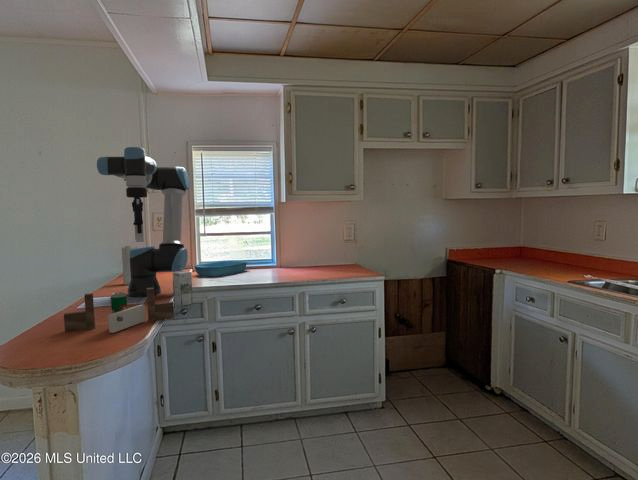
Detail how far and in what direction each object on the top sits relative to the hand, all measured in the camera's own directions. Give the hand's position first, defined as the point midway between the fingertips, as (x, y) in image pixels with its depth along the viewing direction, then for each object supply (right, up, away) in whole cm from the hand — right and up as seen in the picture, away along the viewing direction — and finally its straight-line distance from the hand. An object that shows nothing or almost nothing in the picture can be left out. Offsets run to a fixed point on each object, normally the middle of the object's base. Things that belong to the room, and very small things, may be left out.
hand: (139, 241), depth 161 cm
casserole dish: (+9, -22, +100) cm, 102 cm away
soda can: (+2, -30, -19) cm, 36 cm away
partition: (+1, -30, -16) cm, 34 cm away
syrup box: (+13, -28, +13) cm, 33 cm away
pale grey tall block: (-35, -25, +67) cm, 80 cm away
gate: (+6, -30, -20) cm, 36 cm away
